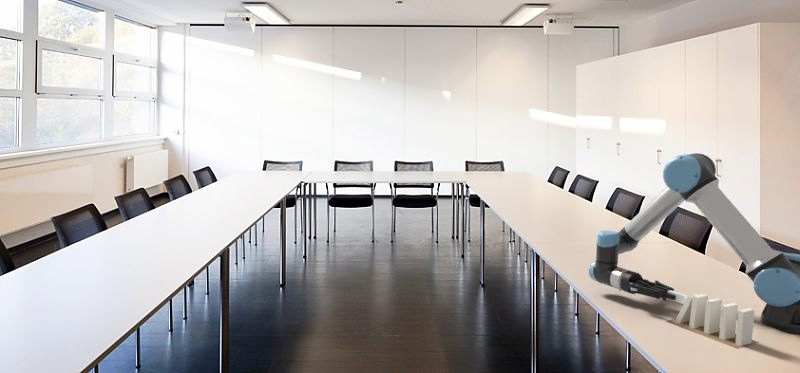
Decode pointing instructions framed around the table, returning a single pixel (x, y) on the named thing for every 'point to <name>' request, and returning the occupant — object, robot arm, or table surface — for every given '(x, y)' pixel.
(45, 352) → the table surface
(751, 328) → the domino
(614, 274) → the robot arm
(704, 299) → the domino
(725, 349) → the table surface
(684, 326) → the board
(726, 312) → the domino
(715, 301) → the domino
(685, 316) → the domino
